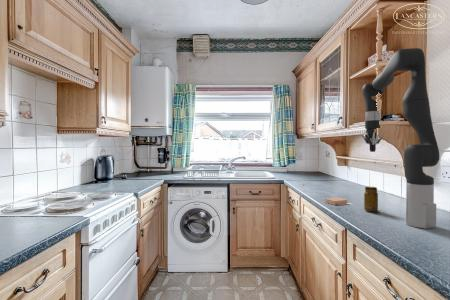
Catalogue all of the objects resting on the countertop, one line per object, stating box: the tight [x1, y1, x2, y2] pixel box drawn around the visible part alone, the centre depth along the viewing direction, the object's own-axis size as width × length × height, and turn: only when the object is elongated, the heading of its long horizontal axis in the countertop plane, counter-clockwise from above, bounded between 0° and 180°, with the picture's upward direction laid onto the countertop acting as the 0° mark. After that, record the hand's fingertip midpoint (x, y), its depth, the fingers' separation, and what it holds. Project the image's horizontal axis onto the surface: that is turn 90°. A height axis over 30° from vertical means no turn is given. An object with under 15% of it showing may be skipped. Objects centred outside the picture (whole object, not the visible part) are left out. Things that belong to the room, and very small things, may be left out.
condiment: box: [363, 186, 385, 215], centre depth 136 cm, size 7×8×12 cm
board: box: [338, 201, 353, 206], centre depth 155 cm, size 9×9×1 cm
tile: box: [324, 197, 348, 206], centre depth 154 cm, size 7×2×9 cm
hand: (372, 151), depth 151 cm, fingers closed
